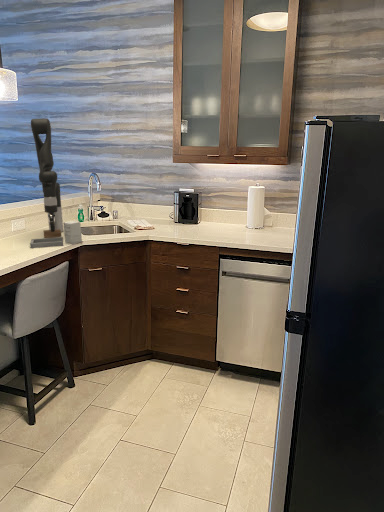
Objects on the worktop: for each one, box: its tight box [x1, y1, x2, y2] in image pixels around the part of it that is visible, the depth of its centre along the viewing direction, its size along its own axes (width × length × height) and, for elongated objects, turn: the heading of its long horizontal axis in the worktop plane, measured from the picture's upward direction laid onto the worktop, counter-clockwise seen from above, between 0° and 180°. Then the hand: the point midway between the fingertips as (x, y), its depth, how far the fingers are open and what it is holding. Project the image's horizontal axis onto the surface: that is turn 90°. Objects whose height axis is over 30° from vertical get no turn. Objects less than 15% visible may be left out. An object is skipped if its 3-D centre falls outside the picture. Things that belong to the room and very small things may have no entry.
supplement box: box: [63, 220, 83, 245], centre depth 240 cm, size 7×7×13 cm
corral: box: [29, 236, 64, 249], centre depth 237 cm, size 14×18×2 cm
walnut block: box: [43, 229, 62, 238], centre depth 249 cm, size 4×10×6 cm, turn 112°
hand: (53, 230), depth 247 cm, fingers open, 8 cm apart
